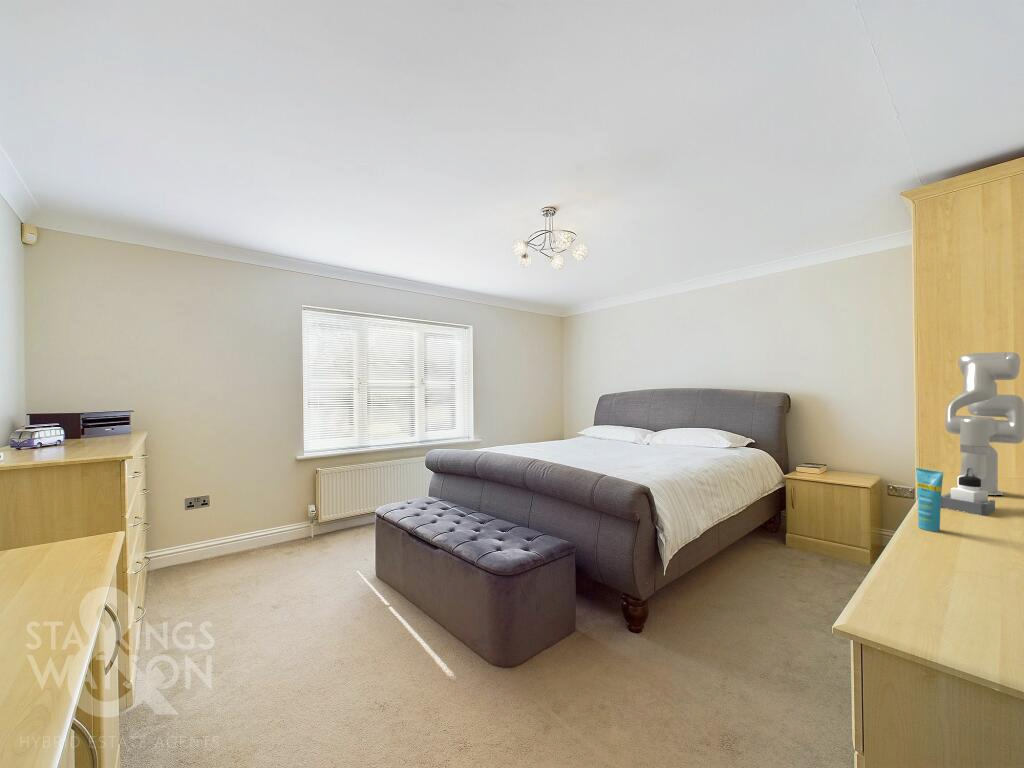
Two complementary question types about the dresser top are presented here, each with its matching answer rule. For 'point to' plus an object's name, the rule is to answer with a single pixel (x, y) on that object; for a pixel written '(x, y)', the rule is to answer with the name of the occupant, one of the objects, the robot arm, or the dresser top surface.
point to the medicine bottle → (969, 490)
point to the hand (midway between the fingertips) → (974, 497)
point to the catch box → (968, 505)
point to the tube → (929, 499)
